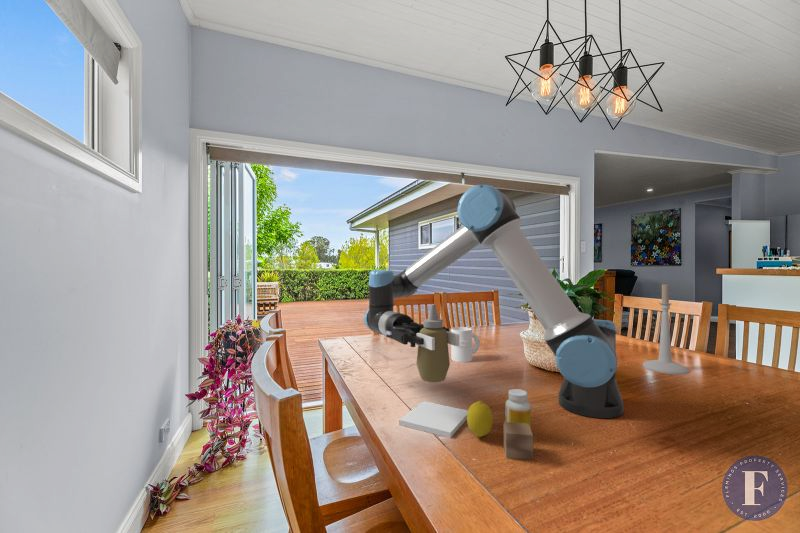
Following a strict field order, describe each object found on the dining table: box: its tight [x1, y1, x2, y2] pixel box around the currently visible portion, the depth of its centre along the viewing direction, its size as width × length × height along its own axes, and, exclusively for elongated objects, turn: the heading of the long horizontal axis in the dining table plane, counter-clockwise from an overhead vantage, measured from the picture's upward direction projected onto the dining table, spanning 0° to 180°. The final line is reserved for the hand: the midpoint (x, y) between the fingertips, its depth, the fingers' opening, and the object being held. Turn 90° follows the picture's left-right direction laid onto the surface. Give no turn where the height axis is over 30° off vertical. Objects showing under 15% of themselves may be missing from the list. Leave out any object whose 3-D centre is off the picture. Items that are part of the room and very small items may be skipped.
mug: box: [450, 326, 481, 363], centre depth 142 cm, size 8×12×12 cm
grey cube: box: [503, 421, 534, 461], centre depth 74 cm, size 5×5×5 cm
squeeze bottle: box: [416, 304, 451, 383], centre depth 89 cm, size 8×8×18 cm
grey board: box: [398, 400, 469, 439], centre depth 89 cm, size 13×13×1 cm
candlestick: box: [642, 283, 689, 375], centre depth 128 cm, size 13×13×30 cm
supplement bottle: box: [504, 388, 532, 430], centre depth 81 cm, size 5×5×10 cm
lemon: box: [466, 400, 494, 438], centre depth 80 cm, size 6×6×8 cm
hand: (445, 342), depth 84 cm, fingers closed on squeeze bottle, 6 cm apart
